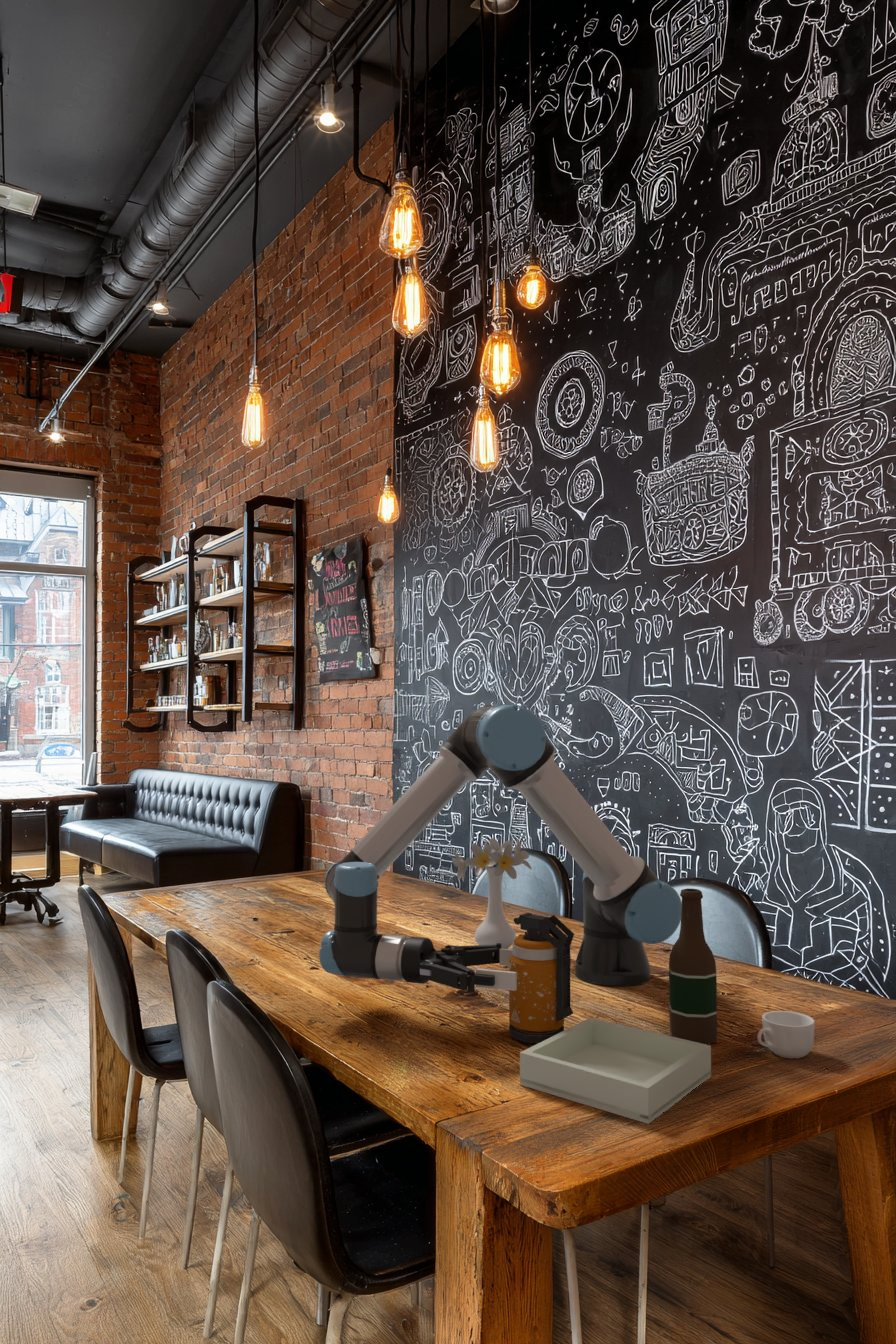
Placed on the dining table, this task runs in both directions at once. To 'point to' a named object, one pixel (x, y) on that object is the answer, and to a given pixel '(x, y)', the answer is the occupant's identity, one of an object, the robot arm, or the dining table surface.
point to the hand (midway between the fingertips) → (527, 970)
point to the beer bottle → (692, 977)
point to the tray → (616, 1068)
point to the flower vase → (494, 887)
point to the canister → (540, 978)
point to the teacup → (787, 1033)
